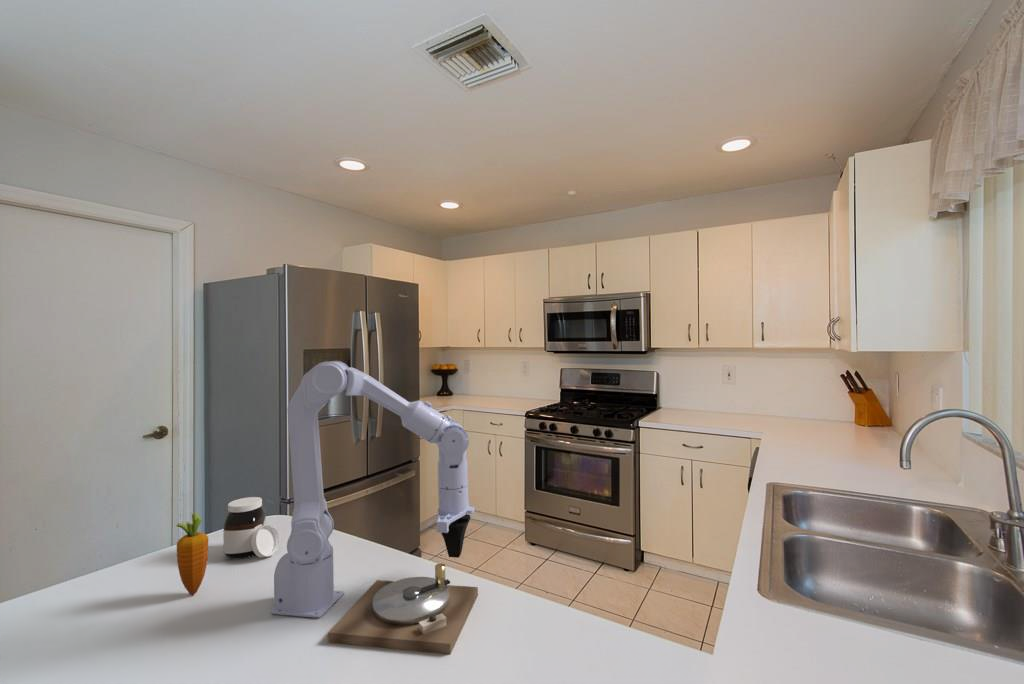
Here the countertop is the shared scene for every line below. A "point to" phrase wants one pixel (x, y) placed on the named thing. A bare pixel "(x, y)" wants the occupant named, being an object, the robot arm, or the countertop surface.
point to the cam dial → (412, 598)
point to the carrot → (192, 555)
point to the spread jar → (248, 530)
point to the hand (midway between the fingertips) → (454, 555)
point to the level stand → (421, 636)
